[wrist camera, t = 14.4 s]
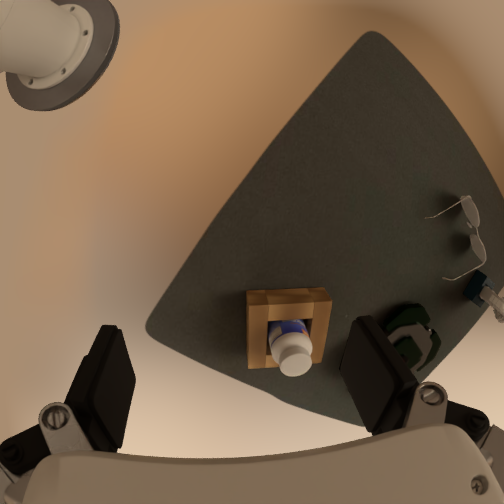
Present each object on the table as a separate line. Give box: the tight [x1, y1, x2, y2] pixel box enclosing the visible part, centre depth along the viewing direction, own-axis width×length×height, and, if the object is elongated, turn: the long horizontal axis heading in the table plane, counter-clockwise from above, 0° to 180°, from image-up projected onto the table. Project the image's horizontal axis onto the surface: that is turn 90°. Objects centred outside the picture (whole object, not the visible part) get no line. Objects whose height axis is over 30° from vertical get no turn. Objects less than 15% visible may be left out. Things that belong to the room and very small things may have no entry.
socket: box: [246, 287, 332, 369], centre depth 41 cm, size 11×11×4 cm
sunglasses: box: [424, 196, 486, 280], centre depth 39 cm, size 14×8×5 cm, turn 34°
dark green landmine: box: [339, 303, 441, 375], centre depth 46 cm, size 18×18×5 cm
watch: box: [463, 270, 504, 323], centre depth 40 cm, size 6×8×11 cm
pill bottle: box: [267, 319, 312, 376], centre depth 38 cm, size 5×5×10 cm
